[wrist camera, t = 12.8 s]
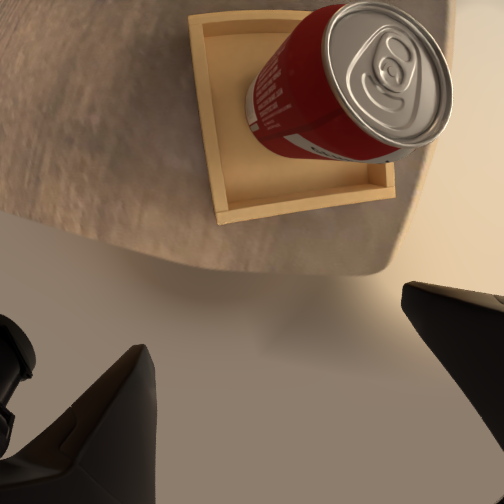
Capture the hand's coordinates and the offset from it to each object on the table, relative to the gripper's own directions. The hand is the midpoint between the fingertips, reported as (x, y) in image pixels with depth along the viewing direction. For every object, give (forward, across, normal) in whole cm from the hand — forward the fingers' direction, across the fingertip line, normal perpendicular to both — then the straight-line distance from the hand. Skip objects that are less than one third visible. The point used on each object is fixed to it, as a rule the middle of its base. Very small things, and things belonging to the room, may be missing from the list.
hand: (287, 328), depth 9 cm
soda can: (+12, -5, -8) cm, 15 cm away
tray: (+12, -5, -8) cm, 16 cm away
